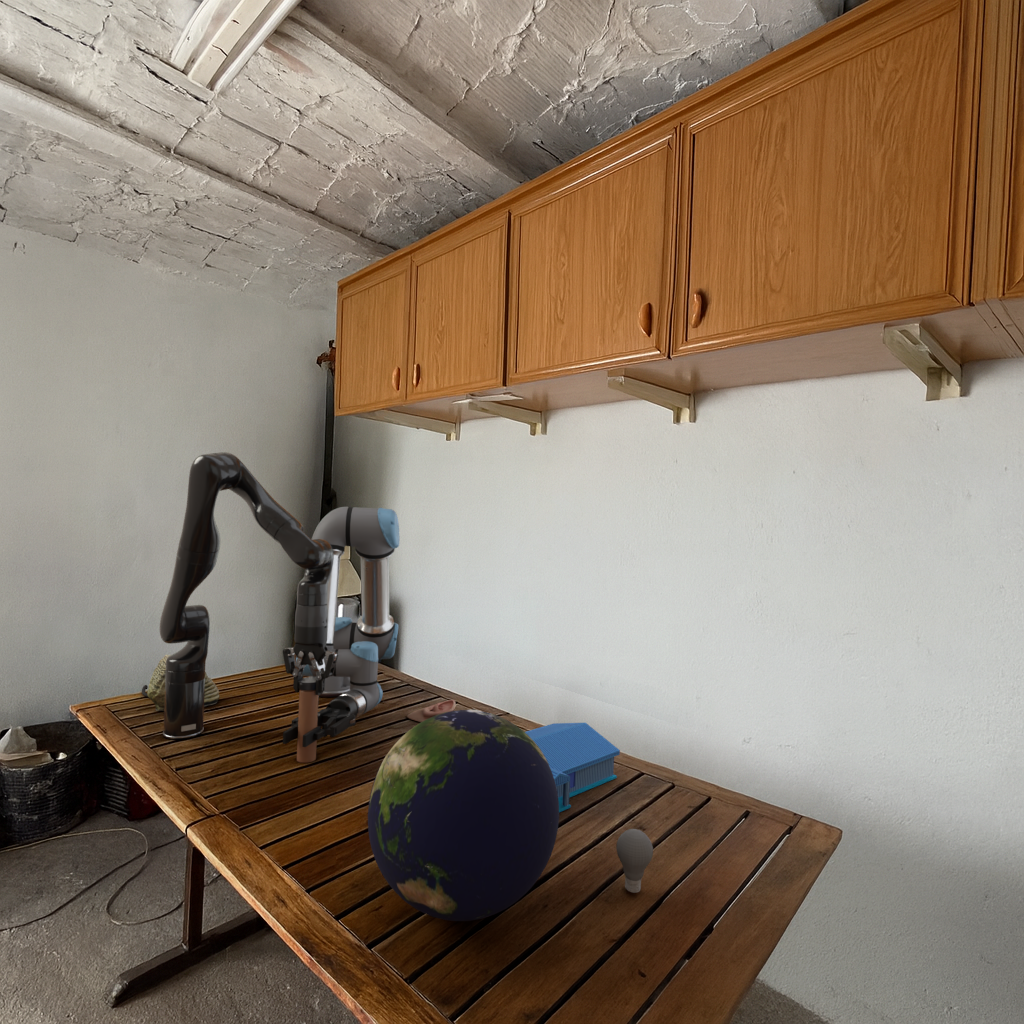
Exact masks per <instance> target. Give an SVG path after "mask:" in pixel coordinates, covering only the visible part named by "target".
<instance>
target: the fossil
mask: <svg viewBox="0 0 1024 1024" xmlns="http://www.w3.org/2000/svg"><path fill="white" fill-rule="evenodd" d="M171 655H172V654H165V655H164V656H163V657H162V658H161V659H160V660H159V662H158V663H157V666H156V667H155V669H154V670H153V672H152V675H151V677H150V680H149V684H148V688H147V695H148V697H147V698H148V699H149V700H150V701H152V703H153V704H154V706H155V711H158V712H159V711H162V712H163V711H164V705H165V674H166V660H167V658H168V657H169V656H171ZM220 698H221V696H220V690H219V688H218V686H217V685H216V683H215V682H214V681H213V679H212V678H211V677H209V675H208V674H207V672H206V671H205V693H204V707H207V706H213V705H215V704H217V703H218V701H219V699H220Z"/></svg>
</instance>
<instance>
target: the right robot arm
mask: <svg viewBox="0 0 1024 1024" xmlns="http://www.w3.org/2000/svg"><path fill="white" fill-rule="evenodd" d="M311 539H312V540H314V539H324V540H326V541H328V542H329V543H330V545H331V546H332V549H333V553H334V561H333V567H332V571H331V576H330V580H329V583H328V603H327V606H328V632H327V643H326V646H327V649H328V651H330V652H333V653H334V652H337V653H338V658H337V662H336V666H335V670H334V673H333V675H332V676H330V677H328V678H325V690H324V692H323V693H322V694H321V695H319V697H320V698H333V699H332V700H330V701H329V702H328V703H327V705H326V707H325V708H322V709H320V710H318V724H317V727H316V728H314V729H313V730H311V731H309V732H308V733H306V734H304V735H303V746H302V747H307V746H308V745H310V744H311V743H313V742H314V741H316V740H317V741H318V740H321V739H322V738H327V737H328V736H329V737H330V738H335V737H337V736H338V735H340V734H341V733H343V732H344V731H346V730H348V729H349V728H351V727H354V726H356V720H357V719H358V718H359V717H361V716H363V715H364V714H366V713H368V712H369V711H371V710H373V709H375V708H376V707H377V705H379V704H380V702H381V701H382V699H383V695H384V692H383V689H382V686H381V684H380V683H379V682H378V671H379V660H380V661H381V660H389V659H392V658H393V657H394V656H395V652H396V647H397V640H398V633H399V624H398V623H396V622H395V620H394V617H393V616H392V615H390V557H391V556H392V555H394V553H395V549H397V548H399V546H400V539H401V535H400V524H399V517H398V515H397V512H396V511H395V510H394V509H392V508H383V507H359V506H357V507H355V506H340V507H337V508H335V509H332V510H330V511H329V512H328V513H327V514H326V515H325V516H324V517H323V518H321V520H320V522H319V523H318V524H317V526H316V528H315V530H314V532H313V534H312V537H311ZM346 547H352V548H353V547H354V549H355V550H354V551H355V554H357V556H358V557H359V558H360V586H361V587H360V588H361V590H360V591H361V592H360V593H361V595H360V596H361V615H360V616H359V618H358V619H357V621H356V622H353V619H352V618H351V617H349V616H338V617H337V609H338V608H337V607H338V594H339V582H340V581H339V580H340V568H341V558H342V556H343V555H345V550H346V549H345V548H346ZM323 659H324V663H325V668H326V665H327V660H326V656H325V657H324V658H323ZM296 661H297V657H296V658H295V662H296ZM318 666H319V664H318ZM301 675H303V677H316V673H315V671H314V670H313V667H312V666H310V665H306V666H305V668H304V671H303V673H302V674H301ZM316 678H317V677H316ZM290 725H291V726H290V727H289V728H288V729H286V730H285V731H283V732H282V744H283V745H287V744H289V743H291V742H292V741H293V740H295V739H297V737H298V716H297V717H295V718H294V719H292V720H291V724H290Z"/></svg>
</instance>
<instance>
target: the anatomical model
mask: <svg viewBox="0 0 1024 1024" xmlns="http://www.w3.org/2000/svg"><path fill="white" fill-rule="evenodd" d="M456 705H457V704H456V700H454V699H449V700H445V701H440V702H438V703H434V704H432V705H428V706H426V707H423V708H419V709H416V710H414V711H411V712H410V713H408V714H407V715H406V717H407V719H409V720H411V721H415V722H417V723H421V722H423V721H425V720H427V719H429V718H431V717H433V716H436V715H439V714H442V713H445V712H450V711H455V708H456Z"/></svg>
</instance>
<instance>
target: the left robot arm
mask: <svg viewBox="0 0 1024 1024" xmlns="http://www.w3.org/2000/svg"><path fill="white" fill-rule="evenodd" d="M227 490H229V491H231V492H233V493H235V494H236V495H237V496H239V497H240V498H241V499H242V500H243V501H244V502H245V503H246V504H247V507H248V508H249V509H250V511H251V514H252V516H253V518H254V521H255V522H256V524H257V525H258V526H259V527H260V529H262V530H263V532H265V533H266V534H267V535H268V536H270V537H271V538H272V539H273V540H274V541H275V542H276V543H278V544H279V545H280V546H281V548H282V550H283V551H284V552H285V554H286V555H287V556H288V558H289V559H290V560H291V561H292V562H293V563H294V565H296V566H298V567H299V568H301V569H303V570H304V574H303V577H302V579H301V580H300V581H298V584H297V590H296V591H297V594H296V608H295V614H294V642H295V643H294V645H293V647H292V646H289V647H286V648H284V649H282V657H283V662H284V669H285V671H286V674H288V675H292V677H293V686H292V687H293V688H292V689H293V690H294V693H297V694H298V693H299V688H298V686H299V680H300V679H302V678H304V676H303V675H301V674H302V673H303V671H304V668H305V666H306V665H310V666H312V667H313V670H314V671H315V673H316V677H317V680H316V695H321V694H322V693H323V692H324V690H325V678H328V677H330V676H332V675H333V673H334V670H335V666H336V662H337V658H338V653H337V652H334V653H333V652H330V651H328V649H327V646H326V643H327V632H328V606H327V603H328V583H329V580H330V576H331V571H332V567H333V561H334V553H333V549H332V546H331V545H330V543H329V542H328V541H326V540H324V539H314V540H312V537H309V536H308V535H307V534H306V533H305V532H304V526H303V524H302V523H301V522H300V521H299V520H298V519H297V518H296V517H295V516H294V515H292V514H291V513H290V512H289V511H288V510H287V509H286V508H285V507H283V506H282V505H281V504H279V502H278V501H277V500H276V499H274V498H273V497H272V495H270V493H269V492H268V491H267V490H266V488H265V487H263V486H262V484H261V483H260V482H259V481H258V479H257V478H256V477H255V476H254V475H253V474H252V472H251V471H250V470H249V469H248V468H247V466H246V465H245V464H244V463H243V461H242V460H241V459H240V458H238V457H237V456H236V455H234V454H233V453H231V452H224V451H222V452H221V451H220V452H212V453H205V454H200V455H199V456H197V457H195V458H194V460H193V461H192V463H191V466H190V469H189V475H188V486H187V495H186V496H187V497H186V507H185V513H184V518H183V525H182V529H181V533H180V538H179V542H178V546H177V551H176V556H175V557H176V558H175V563H174V569H173V573H172V577H171V582H170V586H169V589H168V593H167V596H166V598H165V602H164V605H163V608H162V612H161V616H160V619H159V636H160V638H161V641H163V642H164V644H171V645H172V644H180V643H181V644H183V643H186V644H185V645H184V646H183V647H182V648H181V649H180V650H178V651H176V652H174V653H172V654H170V655H171V656H169V657H168V658H167V660H166V674H165V705H164V710H163V731H162V737H164V738H166V739H169V740H185V739H190V738H191V739H192V738H194V737H197V736H199V735H202V734H203V732H204V730H205V729H204V722H205V721H204V718H205V706H204V693H205V672H206V664H207V663H206V662H207V658H208V653H209V652H208V651H209V641H210V640H209V639H210V631H211V617H210V613H209V610H208V608H207V607H206V606H205V605H203V604H192V605H191V604H190V605H187V604H188V602H189V599H190V597H191V596H192V594H193V593H194V591H196V590H197V588H198V587H199V586H201V584H202V583H203V582H204V581H205V580H206V579H207V577H209V575H211V573H212V572H213V570H214V569H215V567H216V565H217V562H218V558H219V554H220V553H219V552H220V548H221V534H220V531H219V528H218V524H217V523H216V520H215V508H216V503H217V500H218V495H219V494H220V492H222V491H227ZM295 656H296V658H297V661H296V658H295ZM325 656H326V660H327V665H326V668H325V663H324V659H323V658H324V657H325ZM318 664H319V666H318ZM142 686H143V687H142V688H141V695H142V696H144V697H146V698H149V697H148V695H147V694H148V692H146V690H148V688H149V685H147V684H144V685H142Z"/></svg>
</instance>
